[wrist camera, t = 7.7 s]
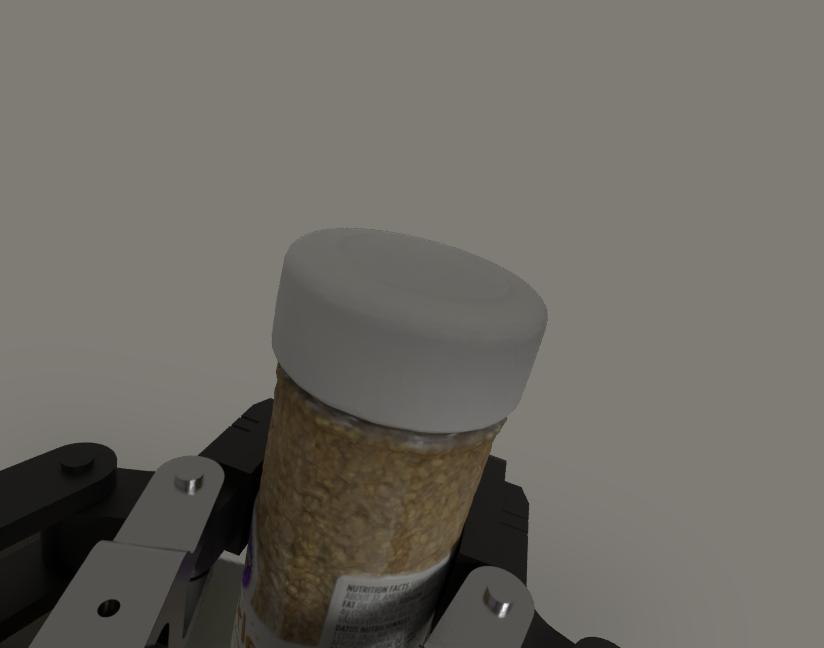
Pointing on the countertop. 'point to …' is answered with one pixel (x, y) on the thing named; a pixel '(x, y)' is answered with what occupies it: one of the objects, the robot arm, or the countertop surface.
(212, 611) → the countertop surface
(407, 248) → the sprinkles bottle
